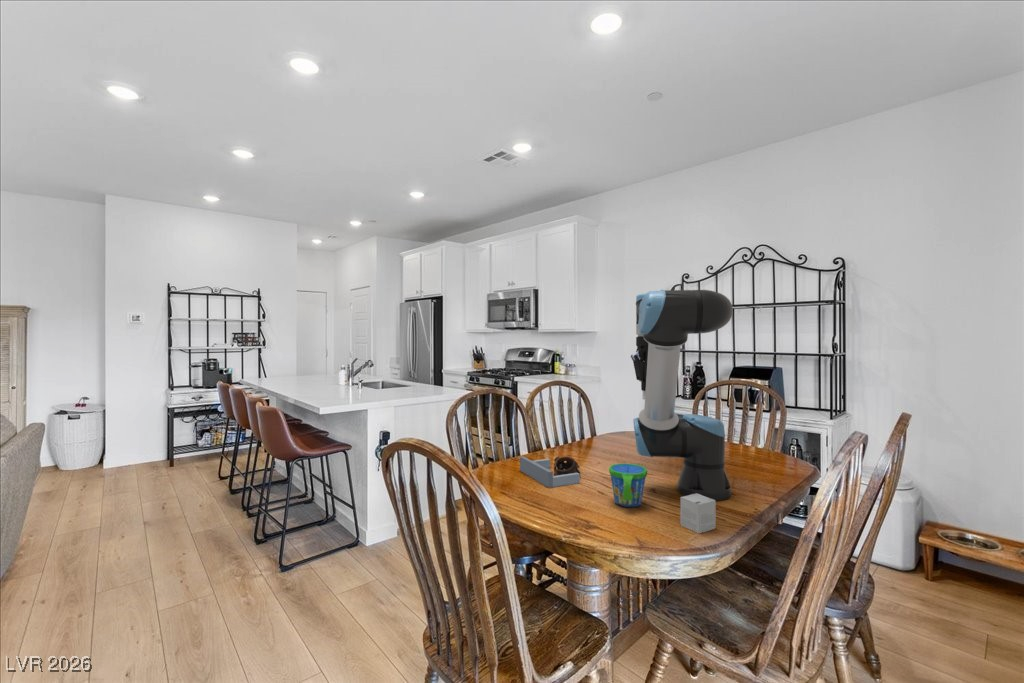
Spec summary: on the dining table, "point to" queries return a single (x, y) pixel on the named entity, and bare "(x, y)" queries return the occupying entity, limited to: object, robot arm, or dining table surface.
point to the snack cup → (628, 483)
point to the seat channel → (546, 473)
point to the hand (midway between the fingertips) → (646, 399)
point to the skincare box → (698, 513)
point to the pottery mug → (565, 466)
